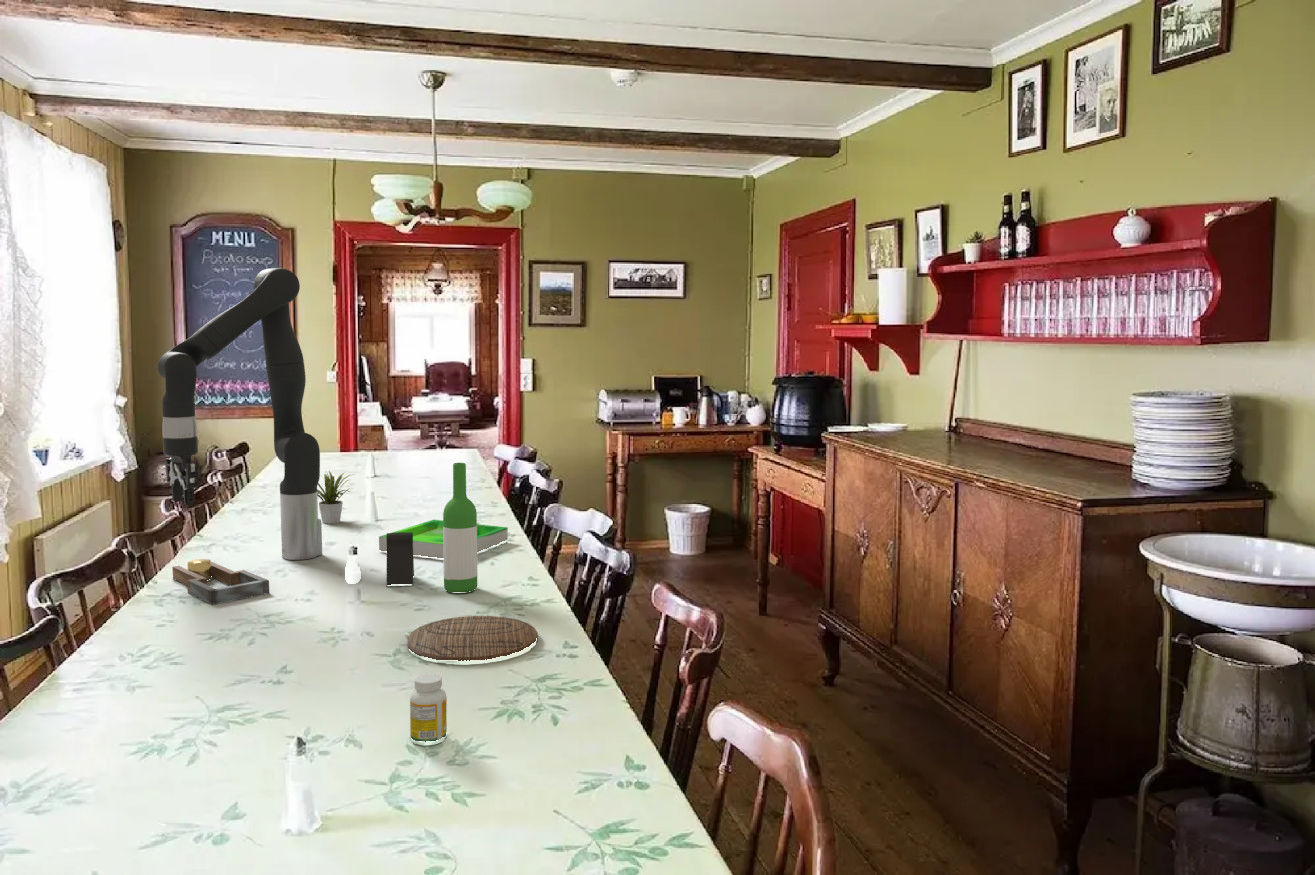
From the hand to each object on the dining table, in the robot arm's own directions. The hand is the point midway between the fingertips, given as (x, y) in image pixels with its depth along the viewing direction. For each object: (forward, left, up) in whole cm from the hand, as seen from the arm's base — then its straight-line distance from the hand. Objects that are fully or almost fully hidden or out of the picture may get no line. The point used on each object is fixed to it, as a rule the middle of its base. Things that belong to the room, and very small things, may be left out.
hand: (183, 502), depth 233 cm
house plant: (-56, -30, -18) cm, 66 cm away
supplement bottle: (+12, +122, -18) cm, 124 cm away
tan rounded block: (0, +8, -18) cm, 19 cm away
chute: (0, +17, -18) cm, 24 cm away
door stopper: (-33, +43, -18) cm, 57 cm away
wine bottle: (-39, +59, -18) cm, 73 cm away
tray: (-61, +21, -18) cm, 67 cm away
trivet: (-19, +91, -18) cm, 95 cm away
